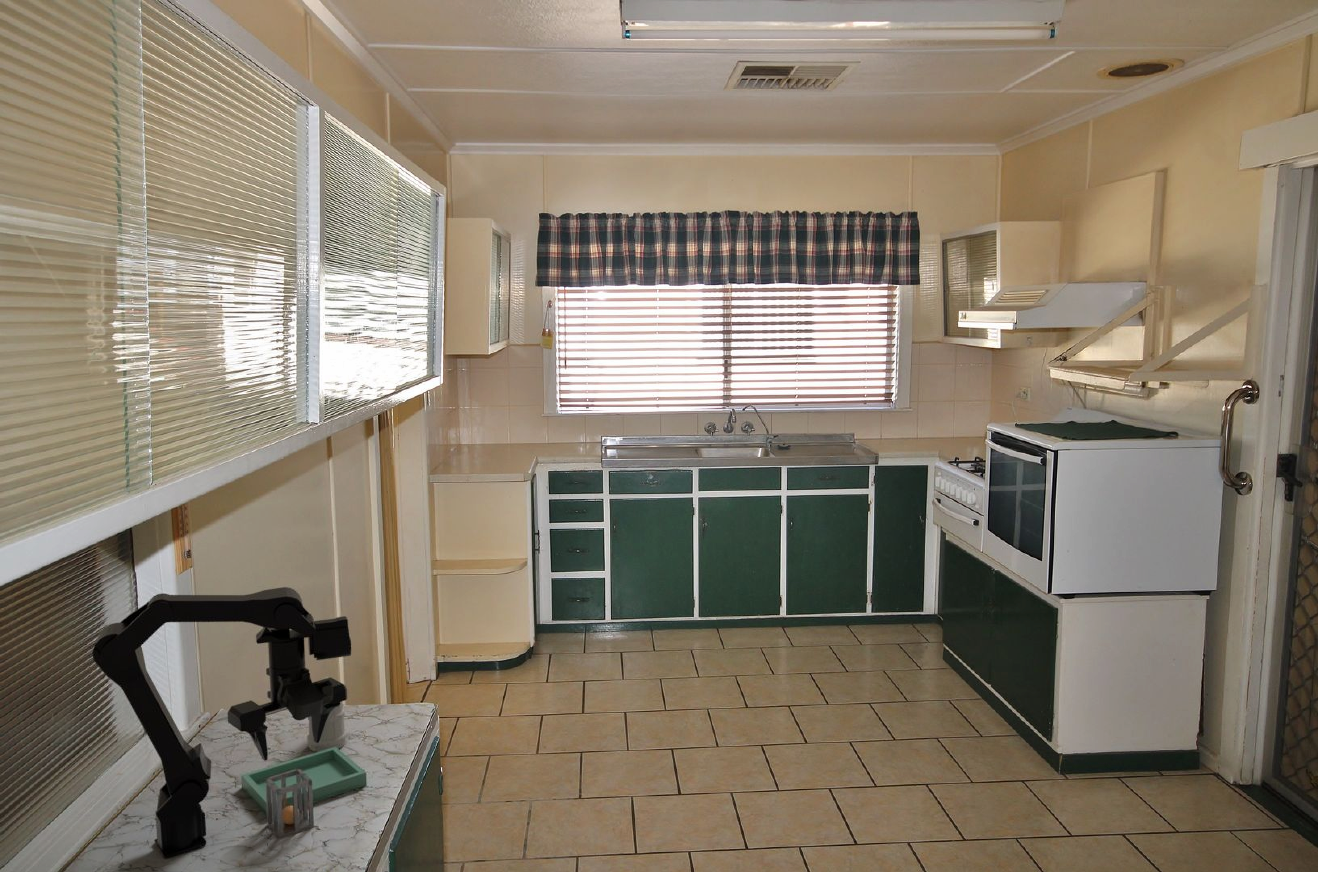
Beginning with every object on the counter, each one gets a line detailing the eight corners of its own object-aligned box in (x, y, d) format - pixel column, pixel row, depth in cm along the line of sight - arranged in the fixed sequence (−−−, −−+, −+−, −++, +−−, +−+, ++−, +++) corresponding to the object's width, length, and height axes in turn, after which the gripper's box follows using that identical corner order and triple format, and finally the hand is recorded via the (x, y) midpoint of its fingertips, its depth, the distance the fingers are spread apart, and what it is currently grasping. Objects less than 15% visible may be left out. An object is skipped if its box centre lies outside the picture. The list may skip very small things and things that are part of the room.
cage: (279, 839, 161) (277, 791, 160) (267, 825, 165) (265, 778, 164) (314, 827, 164) (312, 780, 163) (301, 813, 169) (299, 768, 168)
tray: (268, 817, 167) (267, 804, 167) (241, 787, 178) (241, 775, 177) (366, 785, 179) (366, 772, 179) (336, 758, 189) (335, 746, 189)
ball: (285, 829, 163) (284, 812, 162) (278, 822, 165) (277, 806, 164) (302, 823, 164) (301, 807, 164) (296, 817, 167) (295, 800, 166)
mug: (306, 755, 191) (303, 698, 189) (309, 730, 202) (307, 676, 200) (346, 750, 193) (344, 693, 191) (347, 726, 204) (345, 672, 202)
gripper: (253, 692, 150) (258, 786, 152) (361, 661, 163) (365, 748, 165) (223, 673, 157) (228, 763, 159) (329, 645, 171) (333, 728, 173)
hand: (291, 750), depth 164 cm, fingers open, 9 cm apart
